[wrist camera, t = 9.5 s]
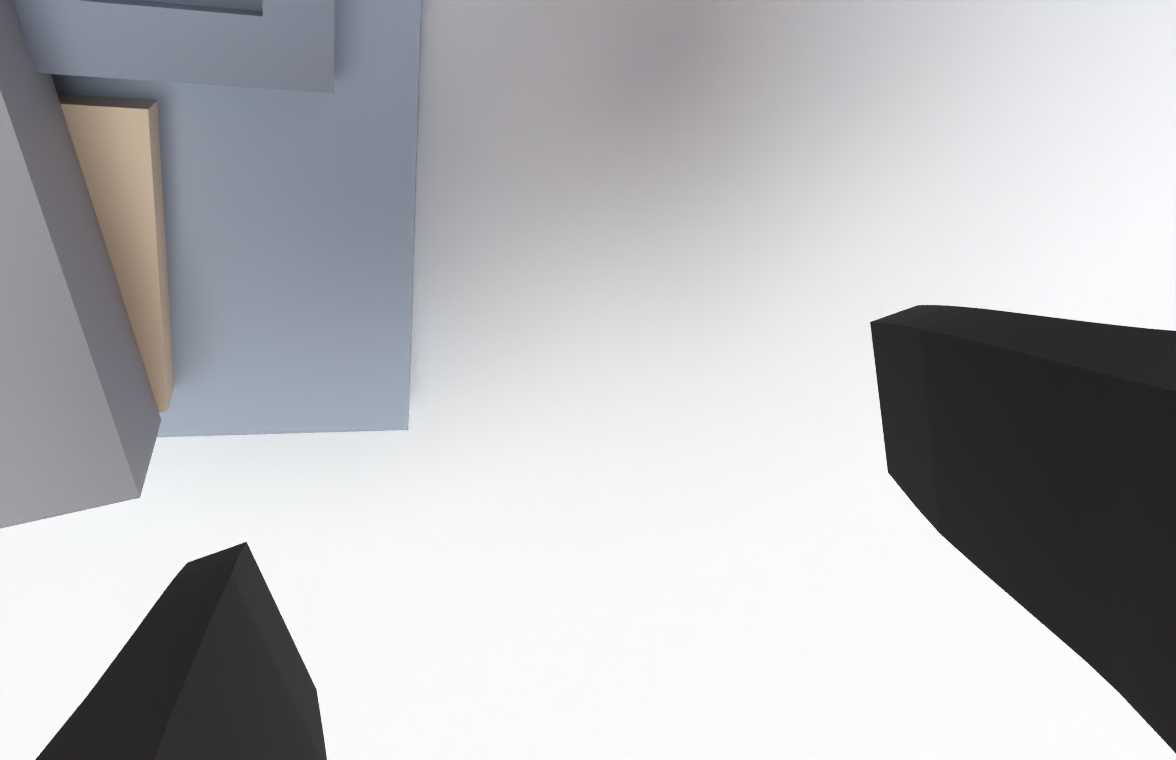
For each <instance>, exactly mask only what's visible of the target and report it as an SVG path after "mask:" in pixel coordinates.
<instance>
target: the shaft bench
mask: <svg viewBox="0 0 1176 760" xmlns="http://www.w3.org/2000/svg"><path fill="white" fill-rule="evenodd" d="M420 25H421V0H0V528H5V527H9V526H14V525H18V524H23V523H27V522H32V521H36V520H41V519H45V518H50V517H54V516H59V515H63V514H68V513H72V512H77V511H81V510H86V509H90V508H95V507H99V506H104V505H108V504H113V503H117V502H122V501H126V500H131V499H135V498H140V495H141V491H142V488H143V484H144V481H145V477H146V473H147V470H148V466H149V463H150V459H151V455H152V452H153V448H154V445H155V441H156V437H176V436H211V435H245V434H280V433H314V432H349V431H383V430H408V416H409V384H410V351H411V318H412V286H413V253H414V221H415V188H416V156H417V123H418V90H419V58H420Z"/></svg>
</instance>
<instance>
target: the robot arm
mask: <svg viewBox="0 0 1176 760" xmlns="http://www.w3.org/2000/svg"><path fill="white" fill-rule="evenodd" d="M870 324H871V332H872V340H873V349H874V357H875V366H876V374H877V383H878V391H879V399H880V408H881V416H882V425H883V433H884V442H885V450H886V459H887V467H888V473H889V474H890V475H891V476H892V478H893V479H894V480H895V481H896V483H897V484H898V485H899V486H900V488H901V489H902V490H903V491H904V492H905V494H906V495H907V496H908V497H909V499H910V500H911V501H912V502H913V503H914V505H915V506H916V507H917V508H918V509H919V510H920V512H921V513H922V514H923V515H924V516H925V517H926V518H927V519H928V521H929V522H930V523H931V524H932V525H933V526H934V527H935V528H936V530H937V531H938V532H939V533H940V534H941V535H942V536H943V537H944V538H946V539H947V540H948V541H949V542H950V543H951V544H952V545H953V546H954V547H955V548H957V549H958V550H959V551H960V552H961V553H962V554H963V555H964V556H966V557H967V558H968V559H969V560H970V561H971V562H972V563H973V564H975V565H976V566H977V567H978V568H979V569H980V570H981V571H983V572H984V573H985V574H986V575H987V576H988V577H989V578H990V579H992V580H993V581H994V582H995V583H996V584H997V585H999V586H1000V587H1001V588H1002V589H1003V590H1004V591H1005V592H1007V593H1008V594H1009V595H1010V596H1011V597H1012V598H1014V599H1015V600H1016V601H1017V602H1018V603H1019V604H1020V605H1022V606H1023V607H1024V608H1025V609H1026V610H1027V611H1029V612H1030V613H1031V614H1032V615H1033V616H1034V617H1035V618H1037V619H1038V620H1039V621H1040V622H1041V623H1042V624H1044V625H1045V626H1046V627H1047V628H1048V629H1049V630H1051V631H1052V632H1053V633H1054V634H1055V635H1056V636H1057V637H1059V638H1060V639H1061V640H1062V641H1063V642H1064V643H1066V644H1067V645H1068V646H1069V647H1070V648H1071V649H1072V650H1074V651H1075V652H1076V653H1077V654H1078V655H1079V656H1081V657H1082V658H1083V659H1084V660H1085V661H1086V662H1087V663H1088V664H1089V665H1090V666H1092V667H1093V668H1094V669H1095V670H1096V671H1097V672H1098V673H1099V674H1100V675H1101V676H1102V677H1103V678H1104V679H1105V680H1106V681H1107V682H1108V683H1110V684H1111V685H1112V686H1113V687H1114V688H1115V689H1116V690H1117V691H1118V692H1119V693H1120V694H1121V695H1122V696H1123V697H1124V698H1125V699H1126V700H1127V702H1128V703H1129V704H1130V705H1131V706H1132V707H1133V708H1134V709H1135V710H1136V711H1137V712H1138V713H1139V714H1140V715H1141V716H1142V718H1143V719H1144V720H1145V721H1146V722H1147V723H1148V724H1149V725H1150V726H1151V727H1152V728H1153V729H1154V730H1155V731H1156V732H1157V734H1158V735H1159V736H1160V737H1161V738H1162V739H1163V740H1164V741H1165V742H1166V743H1167V744H1168V745H1169V746H1170V747H1171V748H1172V750H1173V751H1174V752H1175V753H1176V331H1169V330H1157V329H1146V328H1137V327H1128V326H1118V325H1109V324H1101V323H1092V322H1084V321H1076V320H1068V319H1060V318H1052V317H1044V316H1037V315H1029V314H1021V313H1013V312H1005V311H997V310H988V309H979V308H969V307H958V306H941V305H918V306H915V307H912V308H909V309H906V310H903V311H900V312H898V313H895V314H892V315H889V316H886V317H883V318H881V319H878V320H875V321H872V322H870ZM36 760H327V758H326V750H325V743H324V736H323V729H322V723H321V716H320V710H319V703H318V697H317V691H316V688H315V686H314V684H313V682H312V679H311V677H310V675H309V673H308V671H307V669H306V667H305V665H304V663H303V660H302V658H301V656H300V654H299V652H298V650H297V648H296V646H295V644H294V641H293V639H292V637H291V635H290V633H289V631H288V629H287V627H286V625H285V622H284V620H283V618H282V616H281V614H280V612H279V610H278V608H277V605H276V603H275V601H274V599H273V597H272V595H271V593H270V591H269V589H268V586H267V584H266V582H265V580H264V578H263V576H262V574H261V572H260V570H259V567H258V565H257V563H256V561H255V559H254V557H253V555H252V553H251V551H250V548H249V546H248V544H247V542H245V543H242V544H239V545H237V546H234V547H231V548H228V549H225V550H222V551H220V552H217V553H214V554H211V555H208V556H205V557H202V558H200V559H197V560H194V561H191V562H188V563H187V564H186V565H185V566H184V567H183V569H182V570H181V571H180V572H179V573H178V574H177V576H176V577H175V578H174V579H173V581H172V582H171V583H170V585H169V586H168V587H167V588H166V590H165V591H164V592H163V594H162V595H161V597H160V598H159V599H158V601H157V602H156V603H155V605H154V606H153V607H152V609H151V610H150V612H149V613H148V614H147V616H146V617H145V619H144V620H143V621H142V623H141V624H140V625H139V627H138V628H137V630H136V631H135V632H134V634H133V635H132V636H131V638H130V639H129V641H128V642H127V643H126V645H125V646H124V647H123V649H122V650H121V651H120V653H119V654H118V655H117V657H116V658H115V659H114V661H113V662H112V663H111V665H110V666H109V668H108V669H107V670H106V672H105V673H104V674H103V676H102V677H101V678H100V680H99V681H98V682H97V684H96V685H95V686H94V688H93V689H92V690H91V692H90V693H89V694H88V696H87V697H86V698H85V699H84V701H83V702H82V703H81V704H80V706H79V707H78V708H77V709H76V710H75V712H74V713H73V714H72V715H71V717H70V718H69V719H68V720H67V722H66V723H65V724H64V725H63V726H62V728H61V729H60V730H59V731H58V733H57V734H56V735H55V736H54V738H53V739H52V740H51V741H50V742H49V744H48V745H47V746H46V747H45V749H44V750H43V751H42V752H41V754H40V755H39V756H38V757H37V758H36Z"/></svg>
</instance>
